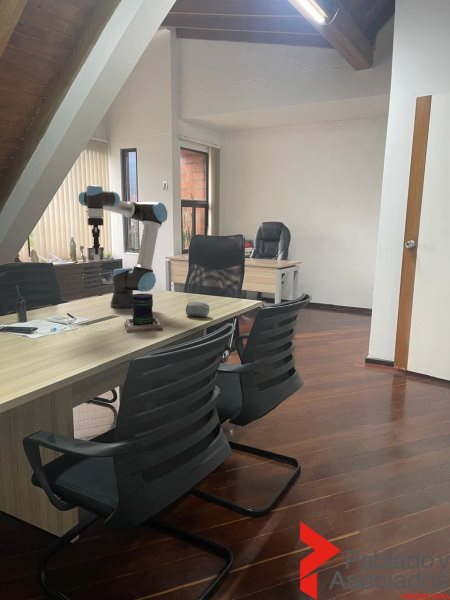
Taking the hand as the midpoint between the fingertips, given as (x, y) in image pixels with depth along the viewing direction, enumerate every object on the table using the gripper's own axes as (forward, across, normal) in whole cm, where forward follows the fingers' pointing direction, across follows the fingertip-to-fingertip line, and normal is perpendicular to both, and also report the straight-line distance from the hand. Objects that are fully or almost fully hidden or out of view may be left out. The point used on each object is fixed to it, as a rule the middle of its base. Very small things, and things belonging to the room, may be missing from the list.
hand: (96, 259), depth 219 cm
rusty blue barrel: (+31, +19, +21) cm, 42 cm away
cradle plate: (+32, +19, +21) cm, 43 cm away
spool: (+32, +1, +53) cm, 62 cm away
